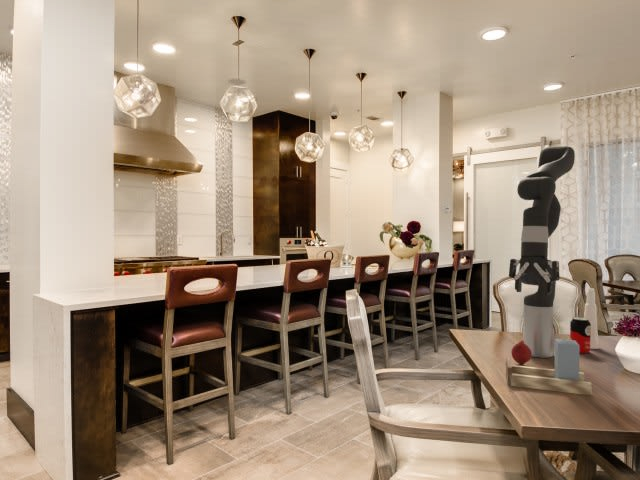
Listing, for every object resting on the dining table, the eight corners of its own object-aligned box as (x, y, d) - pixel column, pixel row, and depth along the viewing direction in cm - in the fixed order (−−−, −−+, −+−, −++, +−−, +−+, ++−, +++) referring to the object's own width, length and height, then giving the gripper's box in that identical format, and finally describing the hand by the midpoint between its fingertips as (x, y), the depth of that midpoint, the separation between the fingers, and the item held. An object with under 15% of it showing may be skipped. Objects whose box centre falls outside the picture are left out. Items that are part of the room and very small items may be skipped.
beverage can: (573, 353, 156) (573, 319, 156) (567, 348, 162) (568, 316, 162) (592, 354, 154) (593, 320, 154) (586, 350, 160) (587, 317, 160)
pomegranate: (522, 368, 136) (523, 342, 136) (507, 363, 142) (507, 339, 141) (535, 366, 139) (535, 341, 139) (519, 361, 144) (519, 337, 144)
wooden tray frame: (583, 382, 123) (583, 365, 123) (591, 395, 114) (591, 376, 114) (505, 374, 130) (506, 357, 130) (507, 385, 121) (507, 367, 121)
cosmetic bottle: (594, 349, 161) (595, 289, 161) (577, 346, 166) (578, 288, 166) (602, 347, 164) (603, 289, 164) (585, 344, 169) (586, 287, 169)
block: (574, 380, 122) (575, 340, 122) (578, 386, 117) (579, 345, 117) (554, 377, 124) (554, 338, 124) (557, 384, 118) (558, 343, 118)
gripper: (563, 242, 134) (561, 295, 134) (516, 241, 145) (514, 290, 144) (555, 241, 129) (553, 296, 129) (506, 240, 140) (504, 291, 139)
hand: (532, 293), depth 137 cm, fingers open, 8 cm apart
